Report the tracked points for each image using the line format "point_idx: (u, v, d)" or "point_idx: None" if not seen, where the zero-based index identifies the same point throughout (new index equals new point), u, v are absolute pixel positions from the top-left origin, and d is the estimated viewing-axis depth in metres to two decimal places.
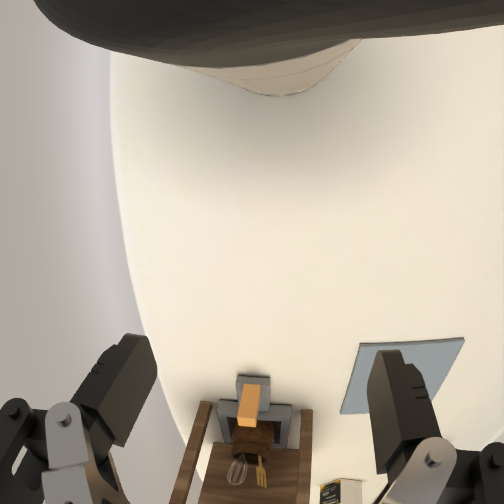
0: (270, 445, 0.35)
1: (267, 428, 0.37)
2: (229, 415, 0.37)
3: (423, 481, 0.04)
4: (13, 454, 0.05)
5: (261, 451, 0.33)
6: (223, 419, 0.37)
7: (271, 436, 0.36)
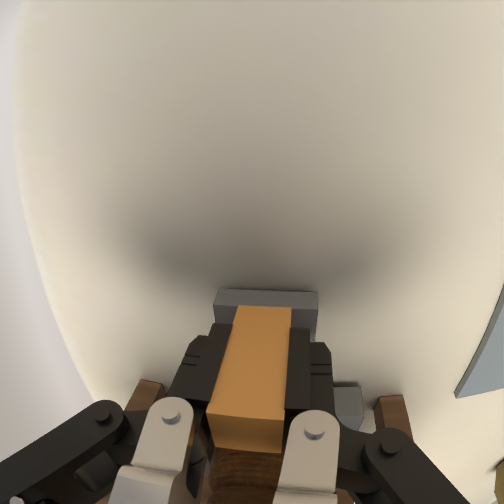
0: None
1: None
2: None
3: (312, 455, 0.05)
4: (83, 458, 0.05)
5: None
6: None
7: None
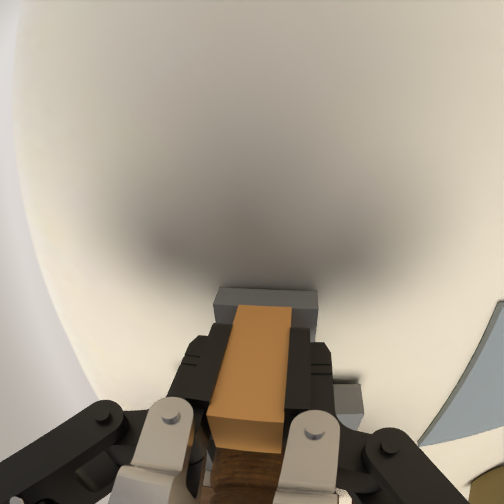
0: None
1: None
2: None
3: (312, 455, 0.05)
4: (83, 459, 0.05)
5: None
6: None
7: None
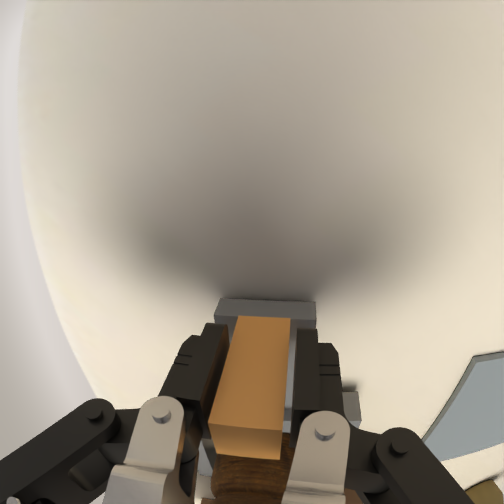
0: None
1: None
2: None
3: (321, 456, 0.05)
4: (77, 457, 0.05)
5: None
6: None
7: None
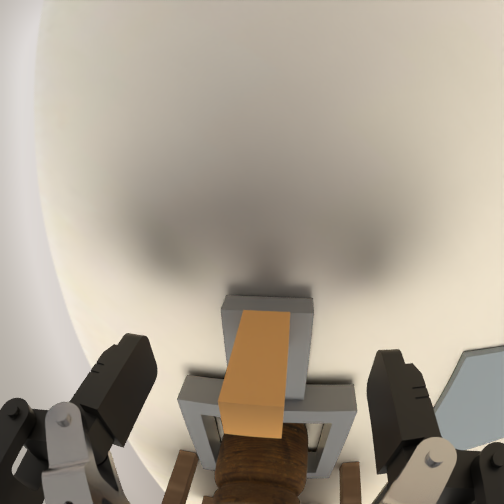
0: (302, 484, 0.14)
1: (295, 447, 0.15)
2: (207, 411, 0.15)
3: (423, 481, 0.04)
4: (13, 454, 0.05)
5: (283, 501, 0.12)
6: (195, 420, 0.16)
7: (304, 464, 0.15)
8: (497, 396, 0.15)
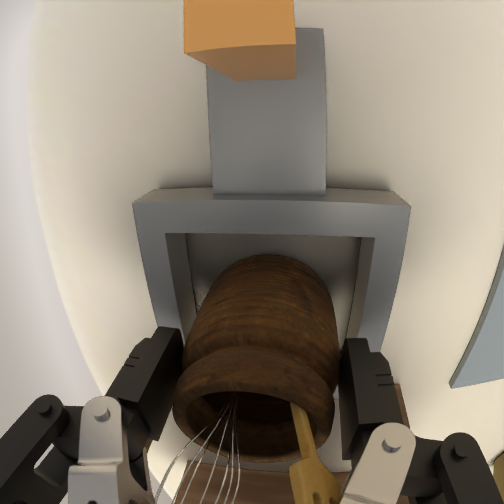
0: (336, 369, 0.09)
1: (319, 301, 0.11)
2: (175, 220, 0.11)
3: (384, 467, 0.05)
4: (38, 452, 0.05)
5: (308, 386, 0.07)
6: (157, 252, 0.11)
7: (335, 335, 0.10)
8: None
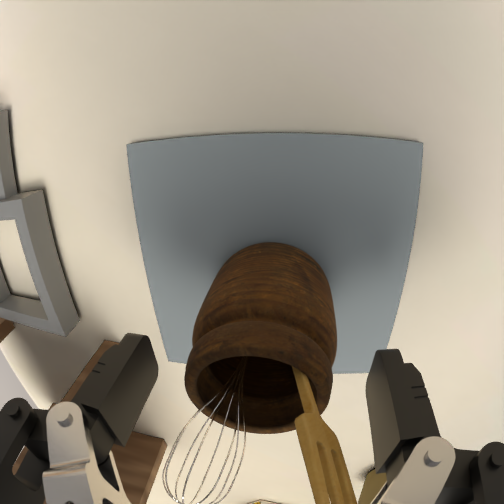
0: (334, 344, 0.11)
1: (318, 283, 0.12)
2: None
3: (422, 480, 0.04)
4: (14, 454, 0.05)
5: (310, 353, 0.09)
6: None
7: (333, 314, 0.12)
8: (252, 243, 0.15)
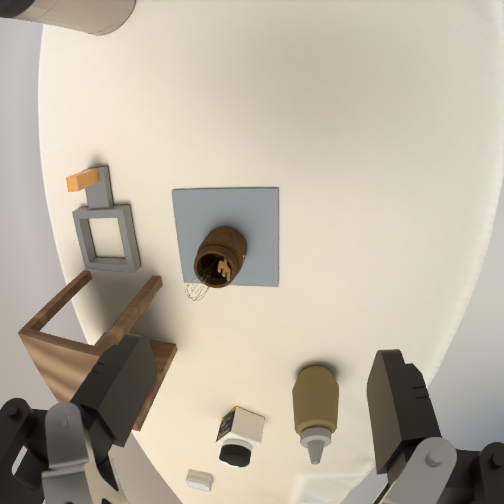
0: (239, 256, 0.36)
1: (237, 238, 0.38)
2: (80, 215, 0.40)
3: (423, 481, 0.04)
4: (13, 454, 0.05)
5: (227, 253, 0.34)
6: (78, 223, 0.41)
7: (241, 248, 0.37)
8: None
